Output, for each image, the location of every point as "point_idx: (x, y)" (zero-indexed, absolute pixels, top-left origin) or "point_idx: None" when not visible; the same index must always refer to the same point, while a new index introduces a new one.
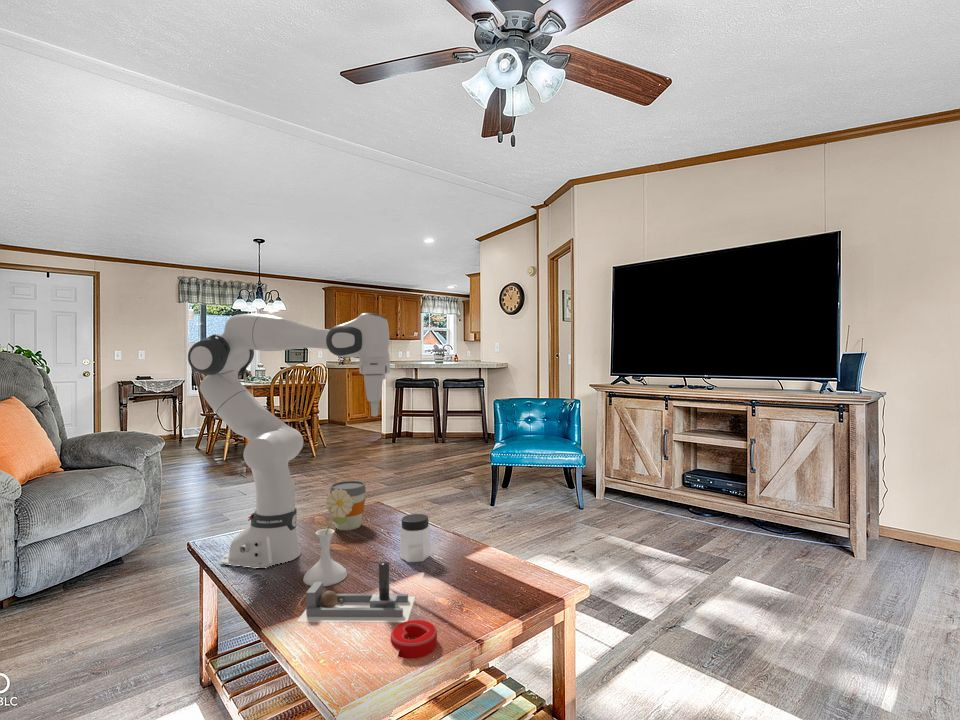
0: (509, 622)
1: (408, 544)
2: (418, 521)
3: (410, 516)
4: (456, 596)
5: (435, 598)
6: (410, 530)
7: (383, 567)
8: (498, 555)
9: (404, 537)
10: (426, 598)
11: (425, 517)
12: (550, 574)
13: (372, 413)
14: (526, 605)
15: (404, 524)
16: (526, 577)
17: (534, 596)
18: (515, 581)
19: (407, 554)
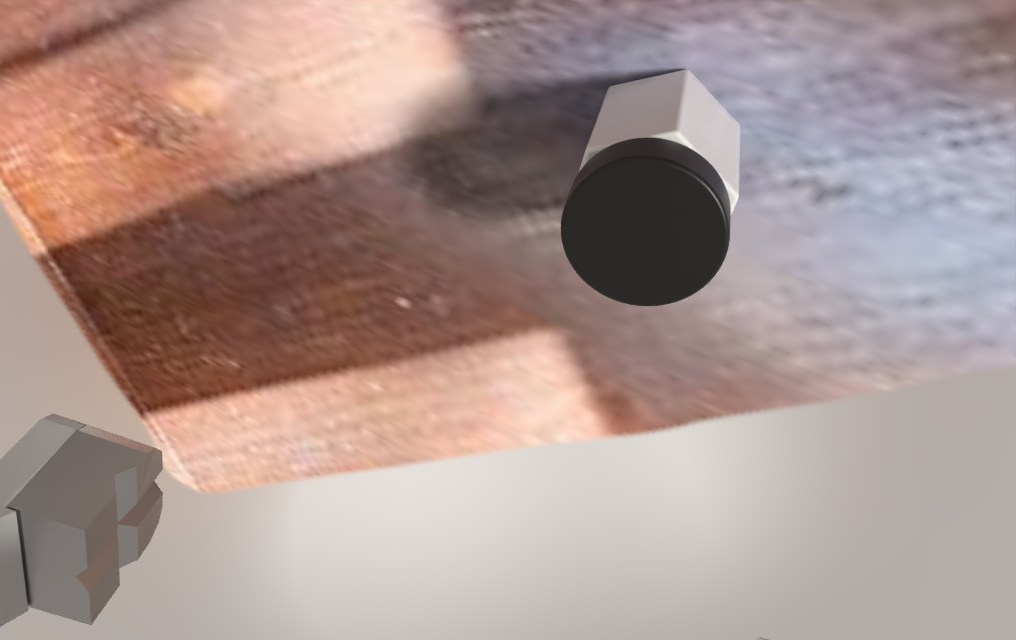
0: (26, 222)
1: (595, 122)
2: (566, 230)
3: (683, 222)
4: (219, 151)
5: (222, 74)
6: (585, 165)
7: None
8: (511, 434)
9: (630, 123)
10: (230, 41)
11: (619, 288)
12: (296, 478)
13: (18, 460)
14: (116, 314)
15: (617, 153)
16: (297, 412)
17: (165, 362)
18: (278, 370)
19: (607, 98)
